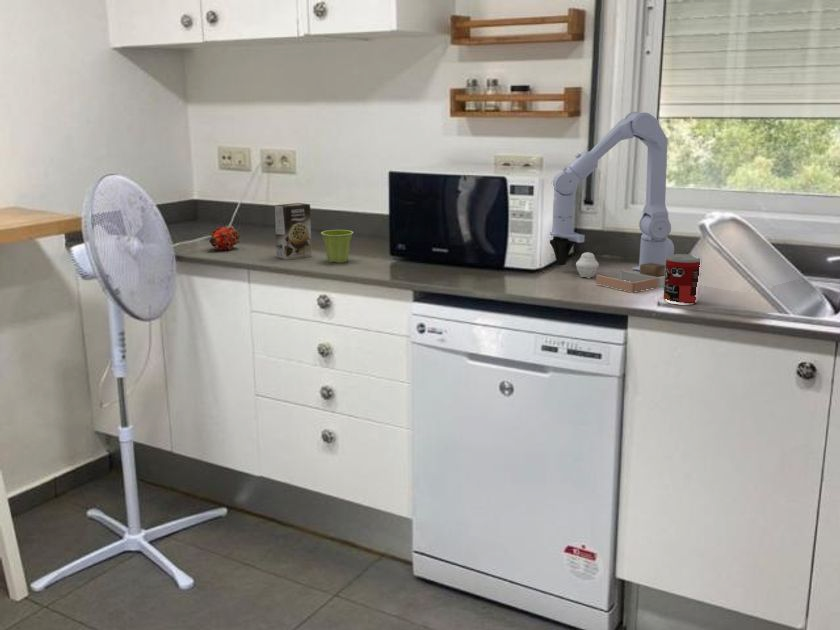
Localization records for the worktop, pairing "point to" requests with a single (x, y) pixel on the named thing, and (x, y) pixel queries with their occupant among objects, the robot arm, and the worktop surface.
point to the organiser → (632, 281)
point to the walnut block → (652, 269)
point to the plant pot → (337, 244)
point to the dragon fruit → (224, 238)
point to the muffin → (587, 265)
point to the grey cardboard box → (293, 230)
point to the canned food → (681, 278)
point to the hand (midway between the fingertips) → (561, 264)
